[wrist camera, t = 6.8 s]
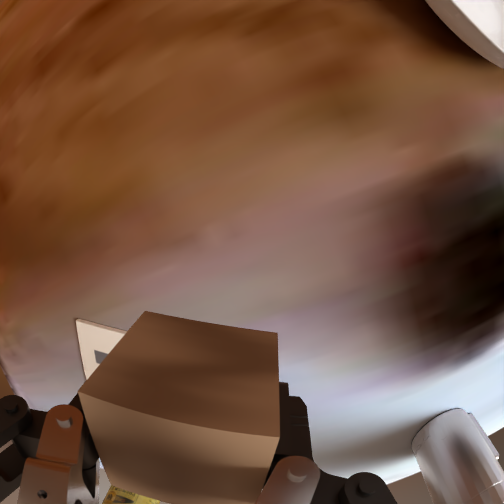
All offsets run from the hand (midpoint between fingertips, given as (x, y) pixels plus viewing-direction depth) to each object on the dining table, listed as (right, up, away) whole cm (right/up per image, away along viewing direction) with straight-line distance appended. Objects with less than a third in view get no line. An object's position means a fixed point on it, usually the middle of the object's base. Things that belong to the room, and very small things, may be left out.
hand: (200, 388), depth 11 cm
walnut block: (0, 0, +1) cm, 1 cm away
